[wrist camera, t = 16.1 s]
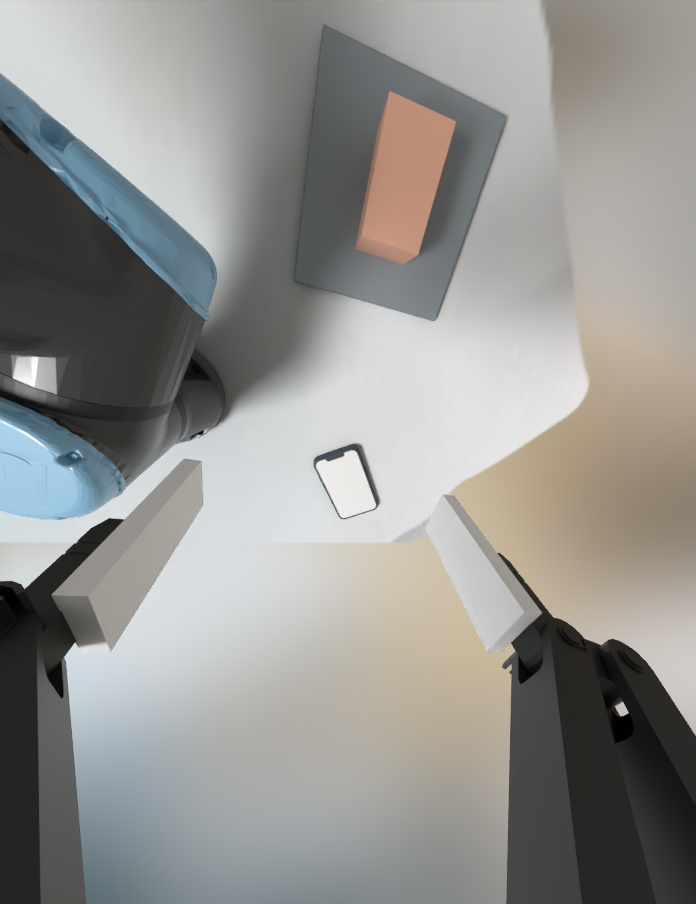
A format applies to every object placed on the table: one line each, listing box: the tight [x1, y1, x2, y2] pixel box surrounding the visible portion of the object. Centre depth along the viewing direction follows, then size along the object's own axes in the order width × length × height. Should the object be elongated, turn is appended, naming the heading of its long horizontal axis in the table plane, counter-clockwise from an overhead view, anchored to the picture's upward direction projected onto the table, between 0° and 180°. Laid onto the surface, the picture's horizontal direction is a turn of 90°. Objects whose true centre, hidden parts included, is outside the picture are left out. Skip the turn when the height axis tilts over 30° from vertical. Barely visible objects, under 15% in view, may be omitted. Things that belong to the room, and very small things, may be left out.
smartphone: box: [314, 445, 378, 519], centre depth 48 cm, size 9×2×16 cm
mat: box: [295, 24, 506, 321], centre depth 29 cm, size 20×20×1 cm
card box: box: [355, 91, 456, 265], centre depth 27 cm, size 10×6×6 cm, turn 167°
